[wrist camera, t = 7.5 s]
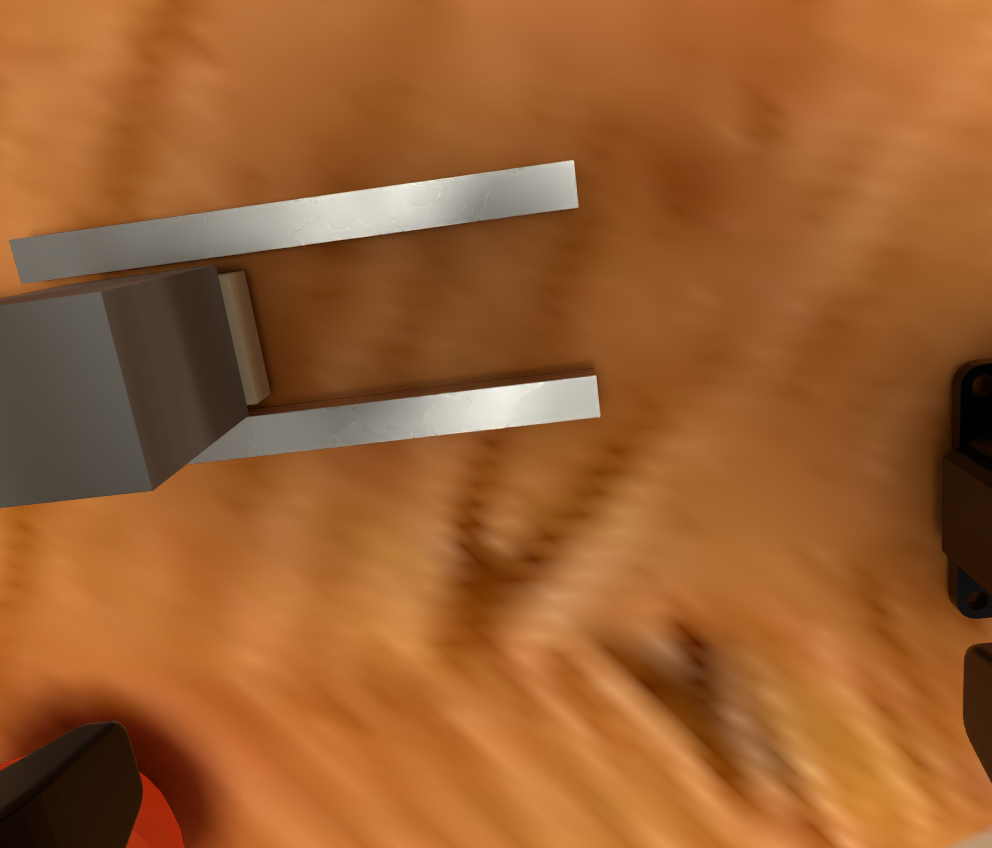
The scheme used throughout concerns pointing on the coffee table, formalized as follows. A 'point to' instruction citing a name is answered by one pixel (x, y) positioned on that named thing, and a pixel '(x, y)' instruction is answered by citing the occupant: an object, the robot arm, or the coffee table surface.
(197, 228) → the track
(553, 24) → the coffee table surface
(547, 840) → the coffee table surface
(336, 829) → the coffee table surface
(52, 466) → the kicker
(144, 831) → the clementine
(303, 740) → the coffee table surface
